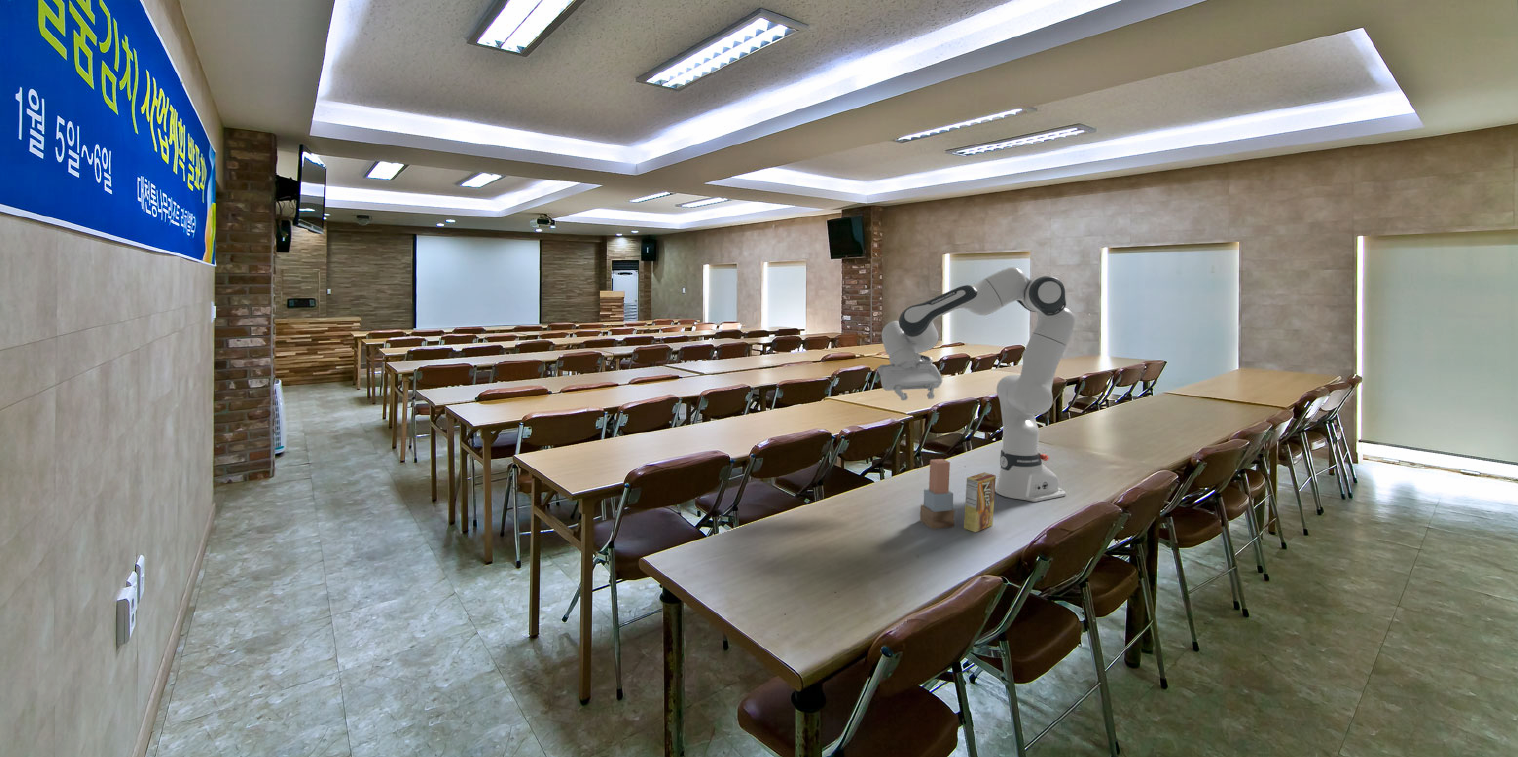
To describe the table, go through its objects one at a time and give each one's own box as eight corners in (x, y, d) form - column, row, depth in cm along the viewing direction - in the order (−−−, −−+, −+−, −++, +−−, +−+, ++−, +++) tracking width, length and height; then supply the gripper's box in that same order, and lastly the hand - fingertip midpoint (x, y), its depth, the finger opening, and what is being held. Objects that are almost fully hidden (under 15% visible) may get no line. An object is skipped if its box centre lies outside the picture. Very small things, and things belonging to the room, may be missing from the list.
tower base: (941, 518, 204) (941, 502, 203) (953, 527, 197) (954, 510, 196) (920, 520, 202) (920, 504, 201) (932, 529, 195) (932, 512, 194)
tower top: (941, 503, 202) (942, 487, 201) (952, 509, 197) (953, 493, 196) (923, 505, 201) (924, 488, 200) (934, 512, 195) (934, 495, 194)
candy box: (980, 521, 201) (983, 471, 198) (993, 525, 197) (996, 474, 195) (963, 528, 195) (965, 477, 193) (976, 533, 192) (978, 480, 190)
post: (941, 488, 200) (942, 458, 199) (948, 492, 196) (949, 462, 195) (929, 489, 199) (930, 459, 198) (936, 493, 195) (937, 463, 194)
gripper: (879, 359, 218) (891, 394, 211) (936, 357, 224) (950, 391, 216) (872, 371, 223) (885, 405, 215) (928, 368, 229) (942, 402, 221)
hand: (918, 398), depth 216 cm, fingers open, 8 cm apart
